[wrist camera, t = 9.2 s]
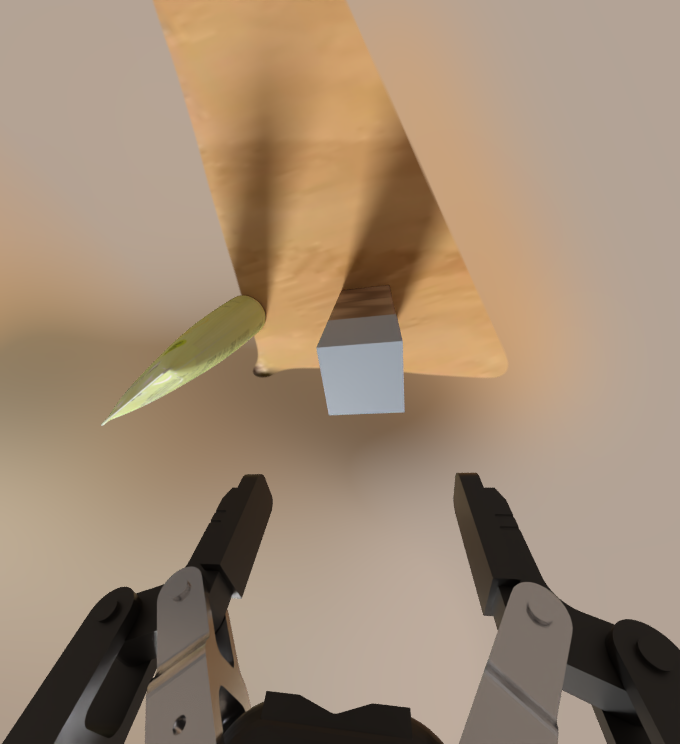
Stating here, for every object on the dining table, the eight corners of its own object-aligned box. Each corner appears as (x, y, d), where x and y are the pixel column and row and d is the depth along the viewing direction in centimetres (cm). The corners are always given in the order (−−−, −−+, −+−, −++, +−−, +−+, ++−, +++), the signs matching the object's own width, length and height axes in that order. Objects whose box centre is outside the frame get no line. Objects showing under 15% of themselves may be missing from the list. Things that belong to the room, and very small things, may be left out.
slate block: (337, 378, 25) (328, 415, 21) (328, 320, 23) (316, 347, 18) (398, 374, 25) (404, 412, 20) (396, 314, 22) (402, 340, 17)
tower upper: (343, 353, 30) (337, 378, 25) (335, 303, 28) (328, 321, 23) (394, 348, 29) (398, 374, 25) (391, 297, 27) (395, 314, 22)
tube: (228, 284, 33) (78, 354, 16) (269, 294, 34) (162, 374, 17) (227, 328, 36) (100, 425, 19) (265, 337, 36) (171, 442, 19)
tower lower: (347, 334, 35) (343, 352, 30) (341, 290, 32) (335, 302, 28) (391, 330, 34) (394, 348, 29) (389, 284, 32) (392, 296, 27)
